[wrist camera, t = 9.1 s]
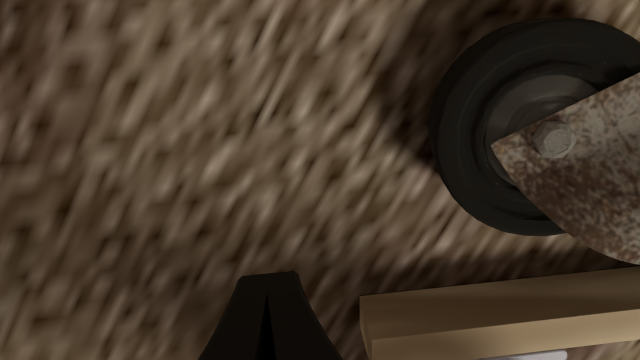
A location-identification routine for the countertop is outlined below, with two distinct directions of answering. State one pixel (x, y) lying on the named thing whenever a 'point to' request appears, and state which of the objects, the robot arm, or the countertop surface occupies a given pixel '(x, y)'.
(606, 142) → the caster wheel
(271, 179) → the countertop surface
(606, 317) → the frame
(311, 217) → the countertop surface
